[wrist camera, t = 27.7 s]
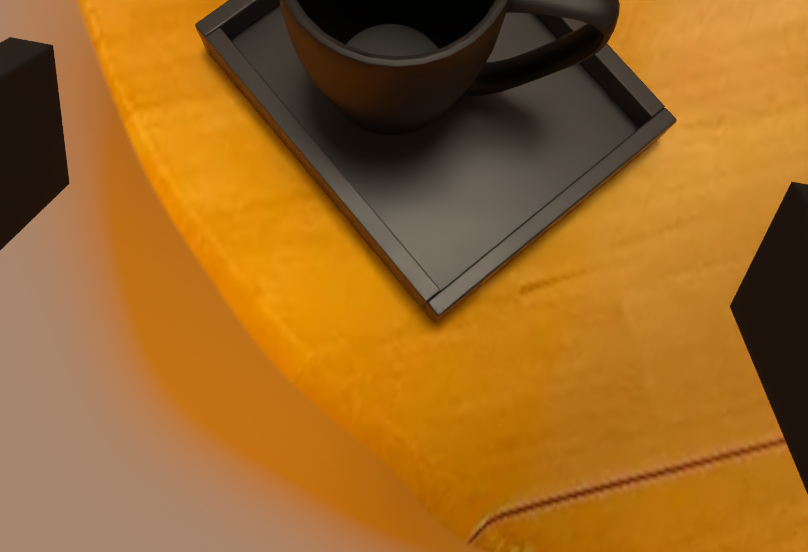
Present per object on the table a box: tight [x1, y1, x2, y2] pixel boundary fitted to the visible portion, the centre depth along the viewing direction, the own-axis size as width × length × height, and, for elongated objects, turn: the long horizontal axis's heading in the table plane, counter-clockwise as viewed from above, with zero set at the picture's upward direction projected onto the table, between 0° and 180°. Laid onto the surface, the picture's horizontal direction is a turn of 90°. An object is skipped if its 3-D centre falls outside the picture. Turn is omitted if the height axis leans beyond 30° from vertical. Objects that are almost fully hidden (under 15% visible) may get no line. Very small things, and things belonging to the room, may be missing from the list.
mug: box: [279, 0, 620, 135], centre depth 30 cm, size 8×12×10 cm
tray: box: [195, 0, 676, 323], centre depth 34 cm, size 17×14×2 cm
